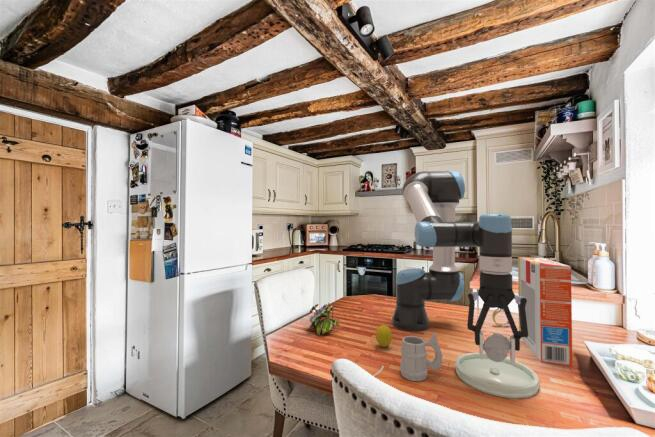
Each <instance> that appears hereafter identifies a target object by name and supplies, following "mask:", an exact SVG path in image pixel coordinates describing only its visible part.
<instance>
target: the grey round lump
mask: <svg viewBox="0 0 655 437" xmlns="http://www.w3.org/2000/svg"><path fill="white" fill-rule="evenodd" d="M510 348H511V344H510V338H507V336H506V335H504V334H502V333H498V332H494V333H493V334H491V335H490V336H488V337H487V338H486V339H485V340H483V351H484V353H486V355H487V357H488V358H489V359H491V360H492V361H495V362H501V361H503V360H505V358H508V354H510Z"/></svg>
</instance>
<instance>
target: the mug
mask: <svg viewBox="0 0 655 437" xmlns="http://www.w3.org/2000/svg"><path fill="white" fill-rule="evenodd" d="M437 338H438V337H437V333H436V332H433V333H432V335H431V336H430V338H429V341H428V340H425V339H424V338H422V337H420V336H414V335H407V336H404V337H402V339H401V348H400V353H401V362H400V366H399V370H400V374H401V376H402V377H403V378H404V379H407V380H408V381H411V382H412V381H413V382H422V381H425V380H426V379H427V378H428V373H429V369H428V367H430V368H432V369H433V370H434V371H435V372H437V373H438V372H439V369H440V368H441V366H442V364H443V361H442V360H443V353H442V350H441V348H440V345H439V342H438V339H437ZM426 347H431V348H432V349H433V350H434V358H433V360H430V359H427V354H428V351H427V350H426Z"/></svg>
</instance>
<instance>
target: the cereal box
mask: <svg viewBox="0 0 655 437" xmlns="http://www.w3.org/2000/svg"><path fill="white" fill-rule="evenodd" d="M517 267H518V268H517V270H518V272H517V273H518V274H517V277H518V278H517V279H518V280H517V282H518V283H517V284H518V288H517V289H518V296H524V297H525V298H526V299H527V303H526V306H525V311H526V320H527V328H528V337H522V338H521V339H522V341H523V342H524V343H525V345H527V347H528V348H529V349H530V350H531V352H532V353H533V355H534V356H536V358H537V360H539V362H540V363H544V364H545V363H547V364H553V365H554V364H555V365H561V366H563V365H564V366H570V367H572V366H573V326H572V325H573V321H572V320H573V318H572V317H573V316H572V314H573V312H572V311H573V310H572V308H573V306H572V304H573V303H572V266H571V265H568V264H564V263H560V262H558V261H554V260H551V259H548V258H544V257H532V256H531V257H527V256H523V257H522V256H517ZM518 331H521V328H520V319H519V318H518Z"/></svg>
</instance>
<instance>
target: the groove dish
mask: <svg viewBox="0 0 655 437" xmlns="http://www.w3.org/2000/svg"><path fill="white" fill-rule="evenodd" d="M455 373H456V376H457V377H458V378H459V379H460V380H461V381H462V382H464V383H465V384H466V385H468V386H469V387H471V388H474V389H476V390H478V391H479V392H483V393H485V394H488V395H491V396H495V397H496V396H497V397H500V398H505V399H515V400H516V399H518V400H519V399H527V398H531V397H533V396H535V395H537V394H538V392H539V385H540V379H539V377H538V374H537V372H535V371H534V370H533V369H531V368H530V367H529V366H528V365H526V364H524V363H521V362H520V361H517V360H515V365H514V364H512V363H511V361H510V357H506V358H505V360H503V361H501V362H495V361H492V360H491V359H489V358H488V357H487V355H486V353H485V352H483V359H480V352H468V353H464V354H460V355H459V356H458V357H457V358H455Z"/></svg>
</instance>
